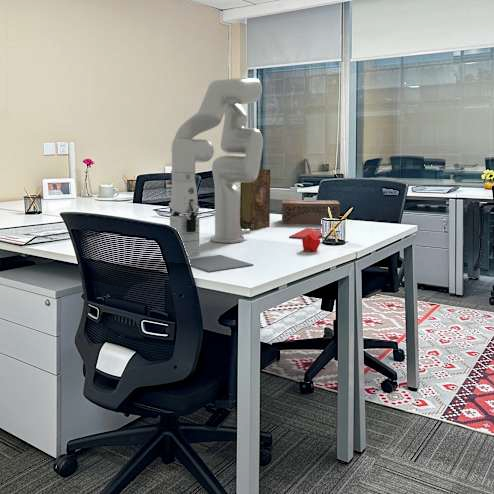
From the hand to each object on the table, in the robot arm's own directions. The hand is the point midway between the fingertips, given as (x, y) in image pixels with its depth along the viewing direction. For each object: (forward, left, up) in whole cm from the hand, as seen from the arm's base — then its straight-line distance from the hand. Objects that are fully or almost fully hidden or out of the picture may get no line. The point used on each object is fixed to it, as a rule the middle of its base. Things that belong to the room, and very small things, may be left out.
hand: (183, 230), depth 189 cm
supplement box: (-1, 0, -8) cm, 8 cm away
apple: (-40, +19, -8) cm, 45 cm away
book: (-57, -34, -8) cm, 67 cm away
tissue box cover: (-88, -33, -9) cm, 94 cm away
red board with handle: (-68, -7, -9) cm, 68 cm away
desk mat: (-1, +18, -8) cm, 19 cm away
